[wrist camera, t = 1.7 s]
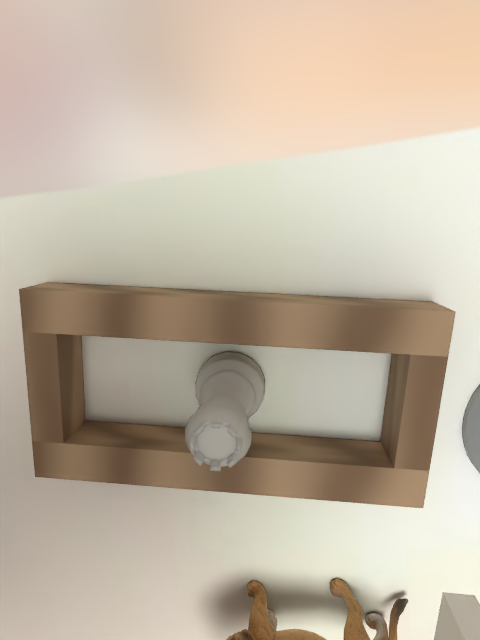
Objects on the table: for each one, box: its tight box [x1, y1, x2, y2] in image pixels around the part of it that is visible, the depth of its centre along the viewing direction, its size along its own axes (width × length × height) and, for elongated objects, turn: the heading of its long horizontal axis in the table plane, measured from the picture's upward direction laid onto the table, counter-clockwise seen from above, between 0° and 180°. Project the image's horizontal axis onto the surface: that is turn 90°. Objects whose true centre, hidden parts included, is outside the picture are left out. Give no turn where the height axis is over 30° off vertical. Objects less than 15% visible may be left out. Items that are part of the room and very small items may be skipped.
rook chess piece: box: [185, 352, 265, 471], centre depth 22 cm, size 4×4×8 cm
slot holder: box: [19, 282, 455, 508], centre depth 25 cm, size 24×12×3 cm, turn 88°
